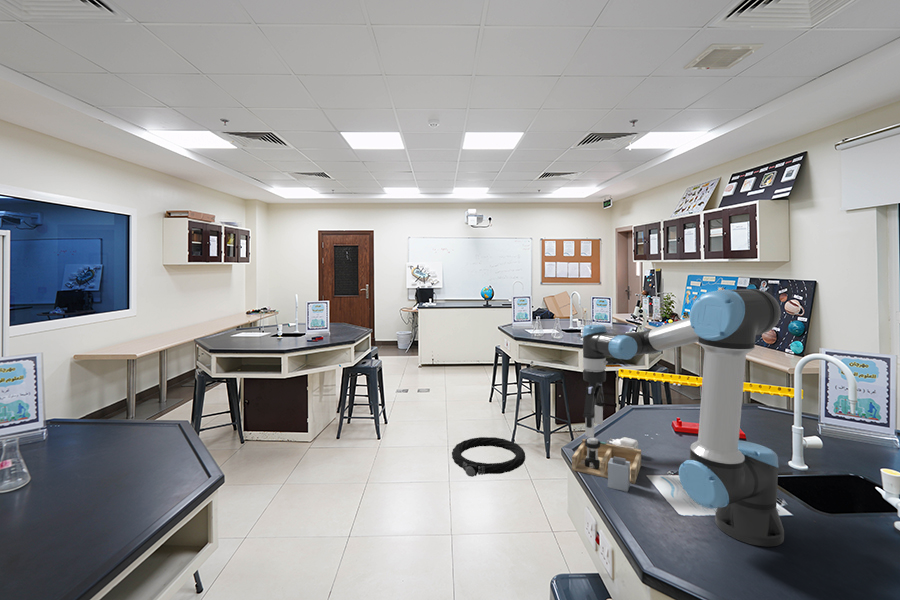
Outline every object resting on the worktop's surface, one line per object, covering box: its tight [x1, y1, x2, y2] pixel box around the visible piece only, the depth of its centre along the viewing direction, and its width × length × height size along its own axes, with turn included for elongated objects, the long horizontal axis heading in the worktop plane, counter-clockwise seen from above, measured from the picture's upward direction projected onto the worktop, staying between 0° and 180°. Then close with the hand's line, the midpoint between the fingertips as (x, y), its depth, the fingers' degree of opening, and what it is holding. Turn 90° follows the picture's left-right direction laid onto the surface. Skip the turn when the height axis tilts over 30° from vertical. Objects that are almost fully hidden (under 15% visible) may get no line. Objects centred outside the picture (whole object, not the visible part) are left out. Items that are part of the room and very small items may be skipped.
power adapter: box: [606, 436, 639, 449], centre depth 165 cm, size 11×5×6 cm, turn 44°
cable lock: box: [451, 436, 526, 478], centre depth 161 cm, size 28×4×30 cm
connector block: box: [607, 456, 631, 493], centre depth 139 cm, size 4×6×9 cm
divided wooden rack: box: [571, 438, 642, 485], centre depth 152 cm, size 16×20×6 cm
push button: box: [581, 436, 602, 470], centre depth 152 cm, size 7×5×10 cm
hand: (594, 429), depth 150 cm, fingers open, 13 cm apart
